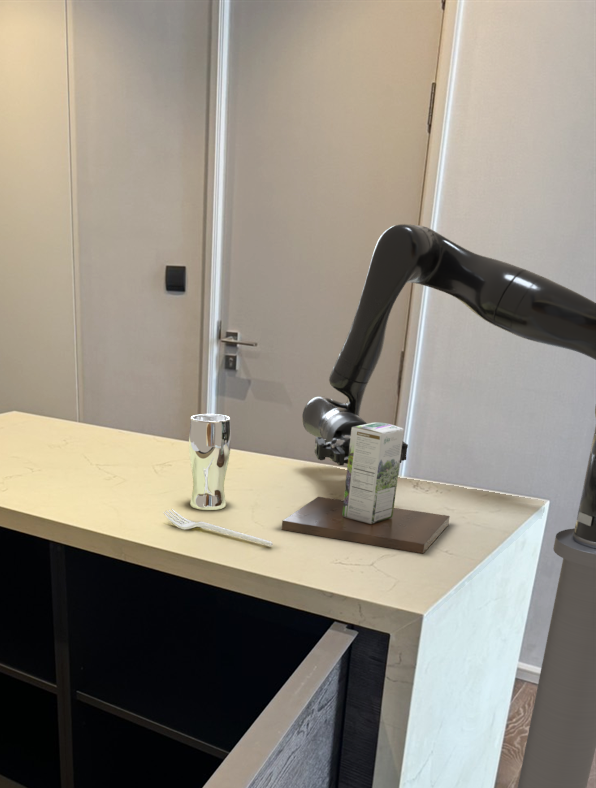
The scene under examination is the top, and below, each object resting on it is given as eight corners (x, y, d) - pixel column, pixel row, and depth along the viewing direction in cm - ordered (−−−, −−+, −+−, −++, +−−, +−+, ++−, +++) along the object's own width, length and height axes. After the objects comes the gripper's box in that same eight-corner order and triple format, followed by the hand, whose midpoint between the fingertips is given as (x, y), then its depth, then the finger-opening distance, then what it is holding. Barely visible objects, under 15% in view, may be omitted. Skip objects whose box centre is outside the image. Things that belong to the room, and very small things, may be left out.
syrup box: (363, 510, 140) (372, 420, 134) (394, 518, 136) (404, 426, 130) (341, 516, 137) (349, 425, 131) (372, 525, 132) (382, 431, 127)
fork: (265, 550, 126) (266, 538, 126) (160, 523, 138) (160, 512, 138) (277, 545, 129) (278, 533, 128) (173, 519, 141) (173, 507, 140)
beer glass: (206, 497, 152) (208, 412, 146) (236, 505, 148) (240, 417, 142) (179, 505, 148) (180, 417, 142) (209, 513, 143) (212, 423, 137)
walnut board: (448, 524, 138) (449, 515, 137) (423, 553, 125) (424, 543, 125) (317, 504, 148) (318, 496, 148) (281, 529, 135) (282, 520, 135)
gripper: (308, 415, 148) (326, 435, 133) (391, 415, 148) (418, 435, 133) (305, 458, 151) (322, 482, 136) (387, 458, 150) (412, 483, 136)
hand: (369, 459), depth 134 cm, fingers open, 8 cm apart
